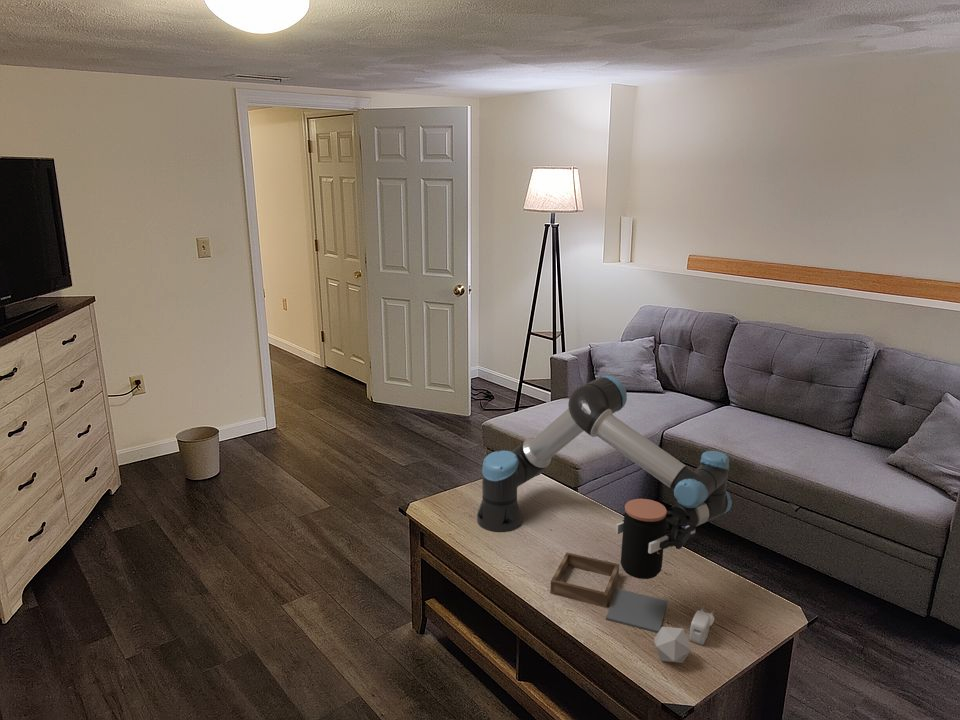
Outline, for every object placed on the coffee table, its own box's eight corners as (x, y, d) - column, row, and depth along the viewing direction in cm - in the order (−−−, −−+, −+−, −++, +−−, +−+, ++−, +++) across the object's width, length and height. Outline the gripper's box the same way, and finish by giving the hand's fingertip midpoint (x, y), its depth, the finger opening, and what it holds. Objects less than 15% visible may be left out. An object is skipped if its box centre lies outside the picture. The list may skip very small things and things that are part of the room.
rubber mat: (616, 590, 194) (617, 588, 193) (667, 602, 188) (667, 600, 188) (605, 619, 181) (605, 617, 181) (659, 633, 176) (659, 631, 176)
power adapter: (697, 617, 182) (699, 598, 181) (716, 623, 180) (718, 604, 178) (686, 640, 173) (688, 621, 172) (705, 647, 171) (707, 628, 169)
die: (678, 678, 162) (701, 645, 162) (647, 655, 163) (670, 622, 163) (673, 665, 170) (695, 634, 170) (644, 644, 171) (665, 612, 171)
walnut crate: (566, 563, 206) (566, 552, 205) (618, 576, 200) (619, 564, 199) (550, 593, 192) (550, 581, 191) (606, 607, 186) (607, 595, 185)
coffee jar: (662, 583, 175) (668, 520, 170) (620, 577, 177) (624, 516, 172) (660, 560, 185) (665, 500, 180) (620, 555, 187) (624, 496, 182)
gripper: (722, 545, 180) (666, 572, 168) (654, 509, 198) (600, 532, 186) (725, 519, 178) (669, 545, 166) (656, 486, 196) (601, 507, 184)
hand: (632, 538), depth 176 cm, fingers closed on coffee jar, 11 cm apart
